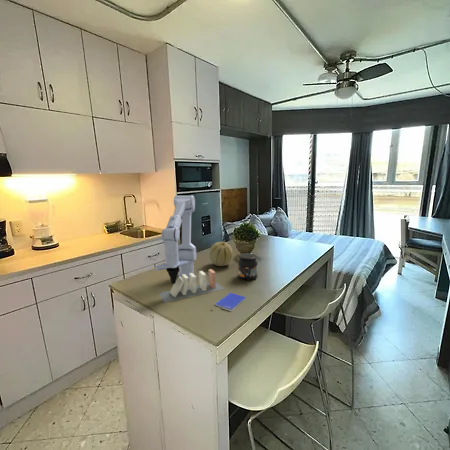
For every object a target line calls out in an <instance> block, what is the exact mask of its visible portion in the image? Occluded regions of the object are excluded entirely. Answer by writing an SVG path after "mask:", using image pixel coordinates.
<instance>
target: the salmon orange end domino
mask: <svg viewBox="0 0 450 450" xmlns="http://www.w3.org/2000/svg"><path fill="white" fill-rule="evenodd" d="M216 280H217V279H216V271H215V270H213V269H212V268H210V269H208V283H209V285H210V286H211V287H212V288H216V282H217V281H216Z"/></svg>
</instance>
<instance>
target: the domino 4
mask: <svg viewBox="0 0 450 450" xmlns="http://www.w3.org/2000/svg"><path fill="white" fill-rule="evenodd" d="M198 281H199V284H198V285H200V288H201V289H202V290H203V291H206V283H207V274H206V273H205V272H204V271H203V270H199V271H198Z"/></svg>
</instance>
